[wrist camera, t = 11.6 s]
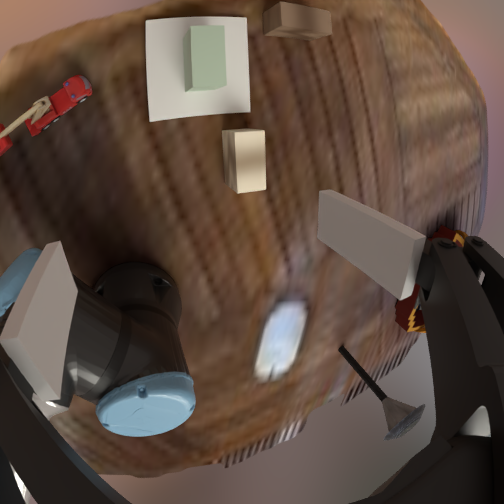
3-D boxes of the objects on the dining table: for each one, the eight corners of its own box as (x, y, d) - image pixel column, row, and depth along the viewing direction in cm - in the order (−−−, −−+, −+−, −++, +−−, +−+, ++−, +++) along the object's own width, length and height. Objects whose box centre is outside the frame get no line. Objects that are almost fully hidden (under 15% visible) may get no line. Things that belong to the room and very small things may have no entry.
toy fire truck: (96, 93, 30) (83, 85, 22) (19, 151, 28) (-10, 162, 20) (86, 74, 28) (71, 61, 20) (10, 133, 27) (-21, 140, 18)
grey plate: (247, 112, 39) (250, 112, 38) (149, 121, 34) (149, 121, 34) (244, 19, 32) (246, 17, 31) (145, 22, 27) (145, 20, 27)
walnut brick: (308, 20, 34) (330, 11, 29) (310, 40, 36) (331, 34, 31) (262, 13, 32) (280, 1, 27) (263, 35, 34) (281, 25, 29)
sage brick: (214, 89, 35) (226, 85, 30) (185, 92, 33) (192, 87, 28) (212, 37, 31) (224, 25, 26) (182, 38, 30) (190, 25, 25)
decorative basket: (429, 208, 67) (469, 228, 53) (471, 240, 76) (503, 259, 63) (373, 315, 77) (402, 347, 64) (425, 325, 87) (450, 350, 74)
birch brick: (250, 180, 44) (266, 189, 39) (225, 183, 42) (237, 193, 37) (248, 128, 40) (264, 130, 35) (221, 130, 39) (234, 132, 34)
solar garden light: (322, 343, 68) (395, 433, 43) (361, 324, 71) (436, 400, 46) (321, 371, 74) (382, 452, 49) (357, 352, 77) (420, 424, 52)
